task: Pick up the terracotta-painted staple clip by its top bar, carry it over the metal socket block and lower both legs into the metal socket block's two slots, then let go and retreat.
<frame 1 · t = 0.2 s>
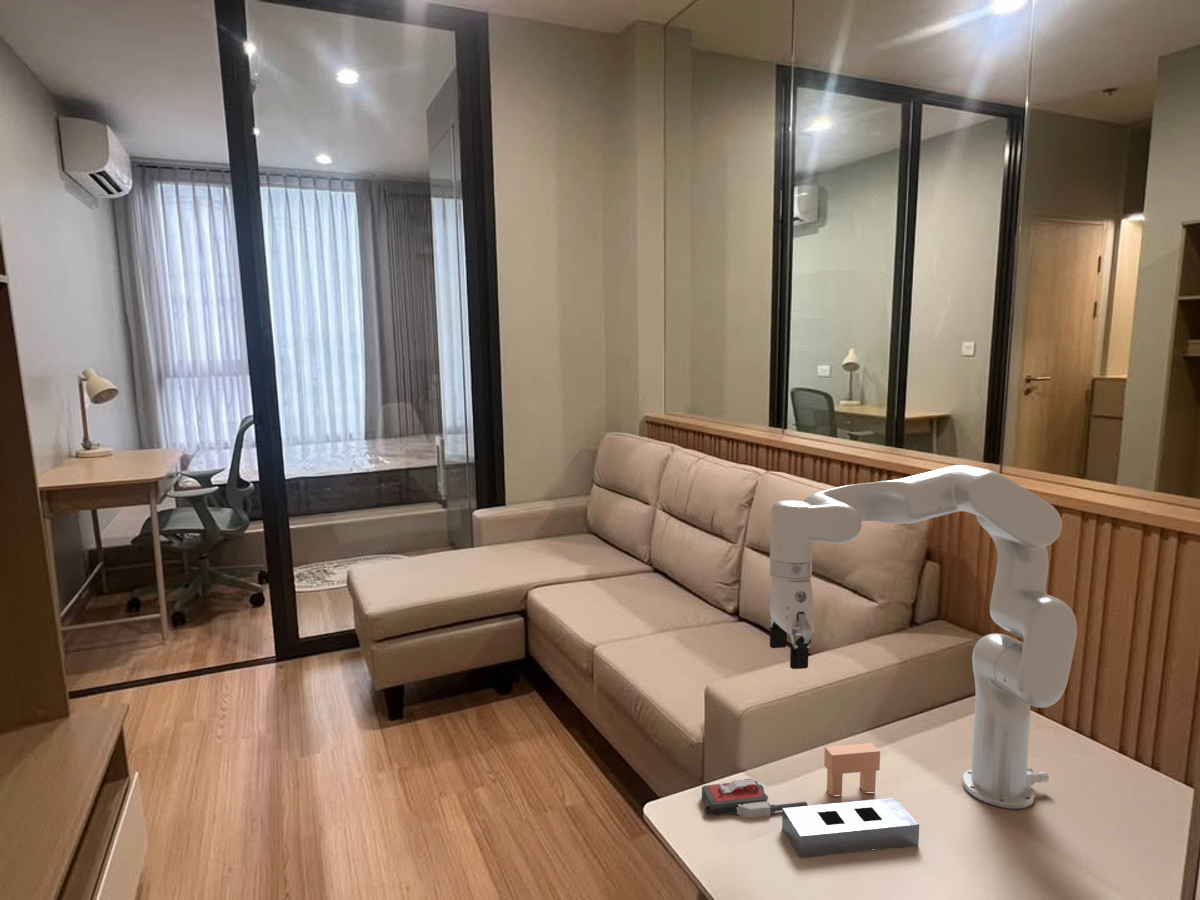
hand: (788, 657, 133), 30 cm above the table, fingers open, 9 cm apart
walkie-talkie: (751, 807, 139), on the table
clip: (850, 791, 143), on the table
metal socket block: (848, 836, 129), on the table
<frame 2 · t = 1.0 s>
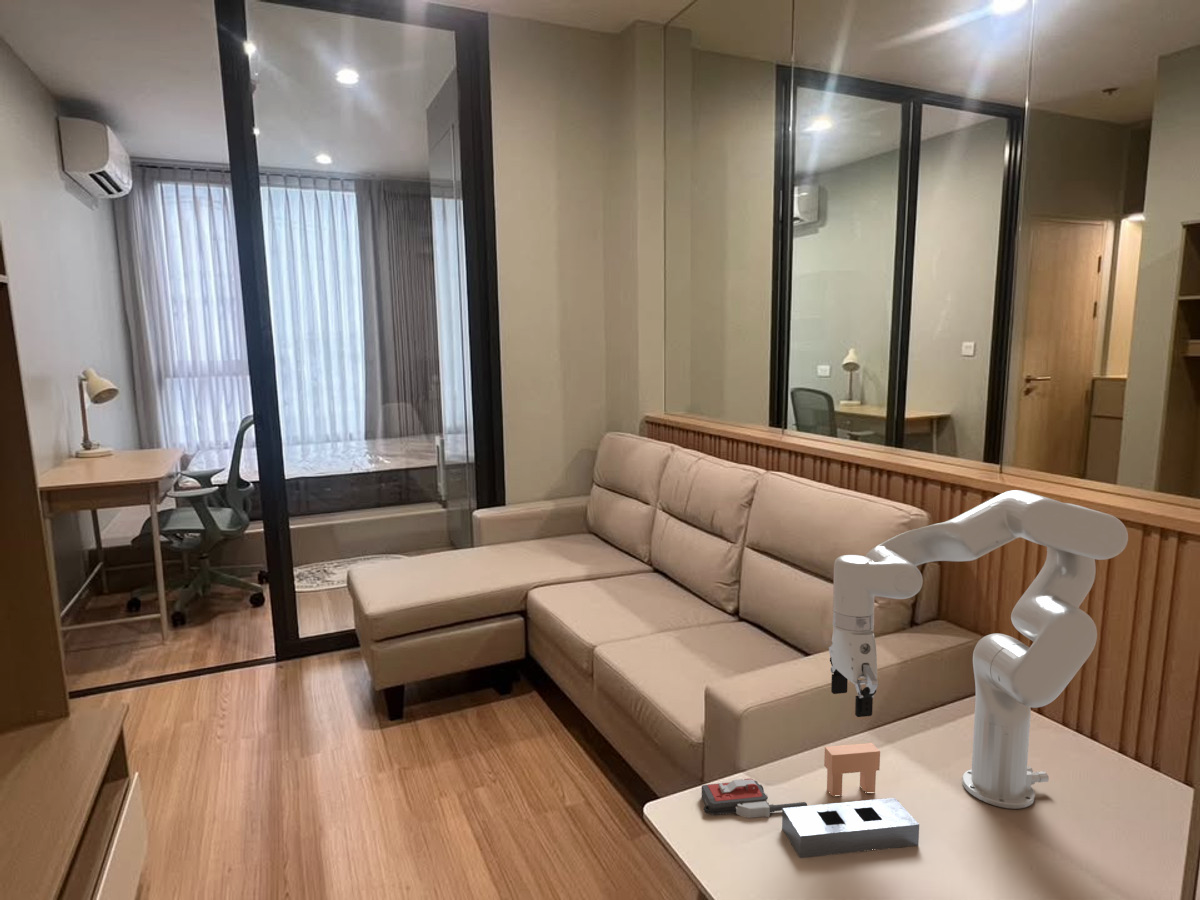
hand: (851, 704, 140), 19 cm above the table, fingers open, 9 cm apart
nothing on the table moved.
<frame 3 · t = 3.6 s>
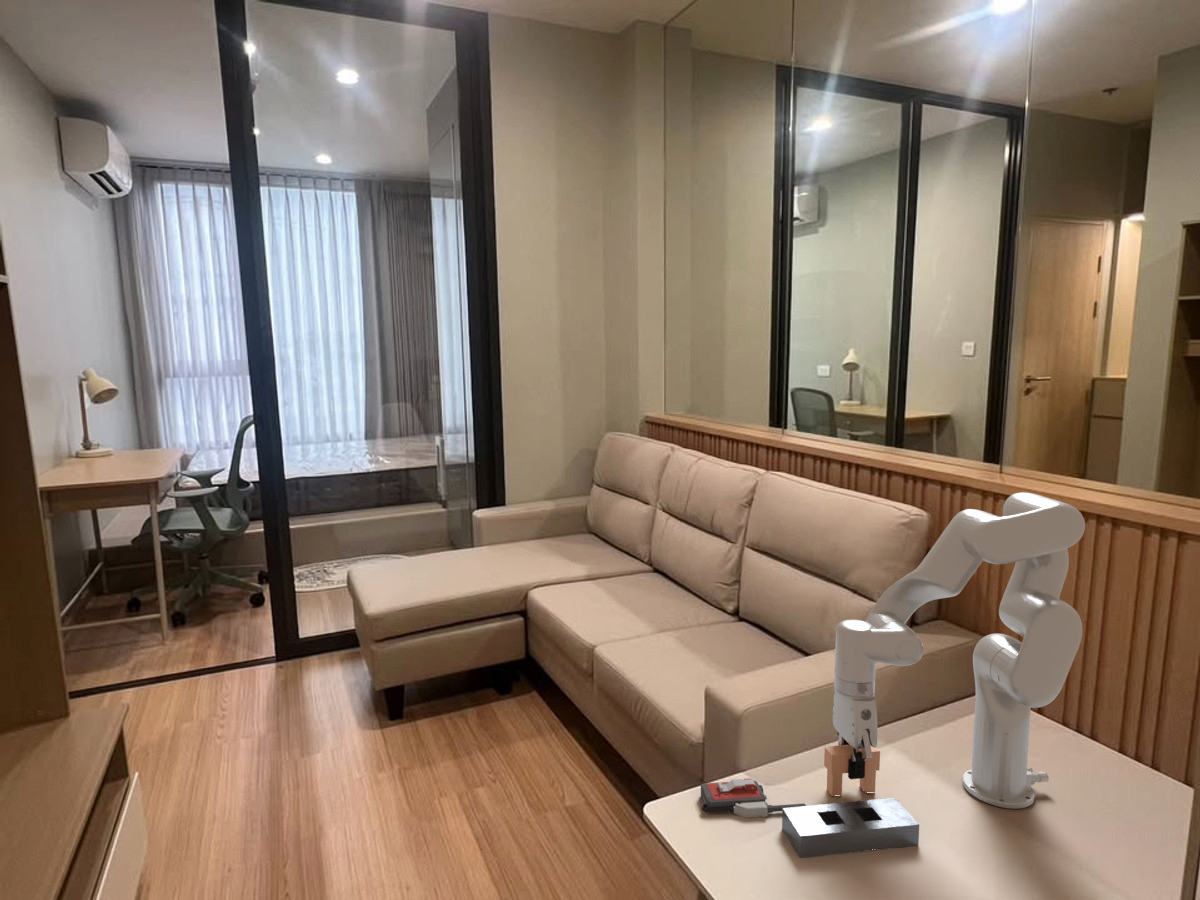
hand: (851, 771, 142), 4 cm above the table, fingers closed on clip, 3 cm apart
clip: (850, 791, 143), on the table, touching gripper
everything else where it was.
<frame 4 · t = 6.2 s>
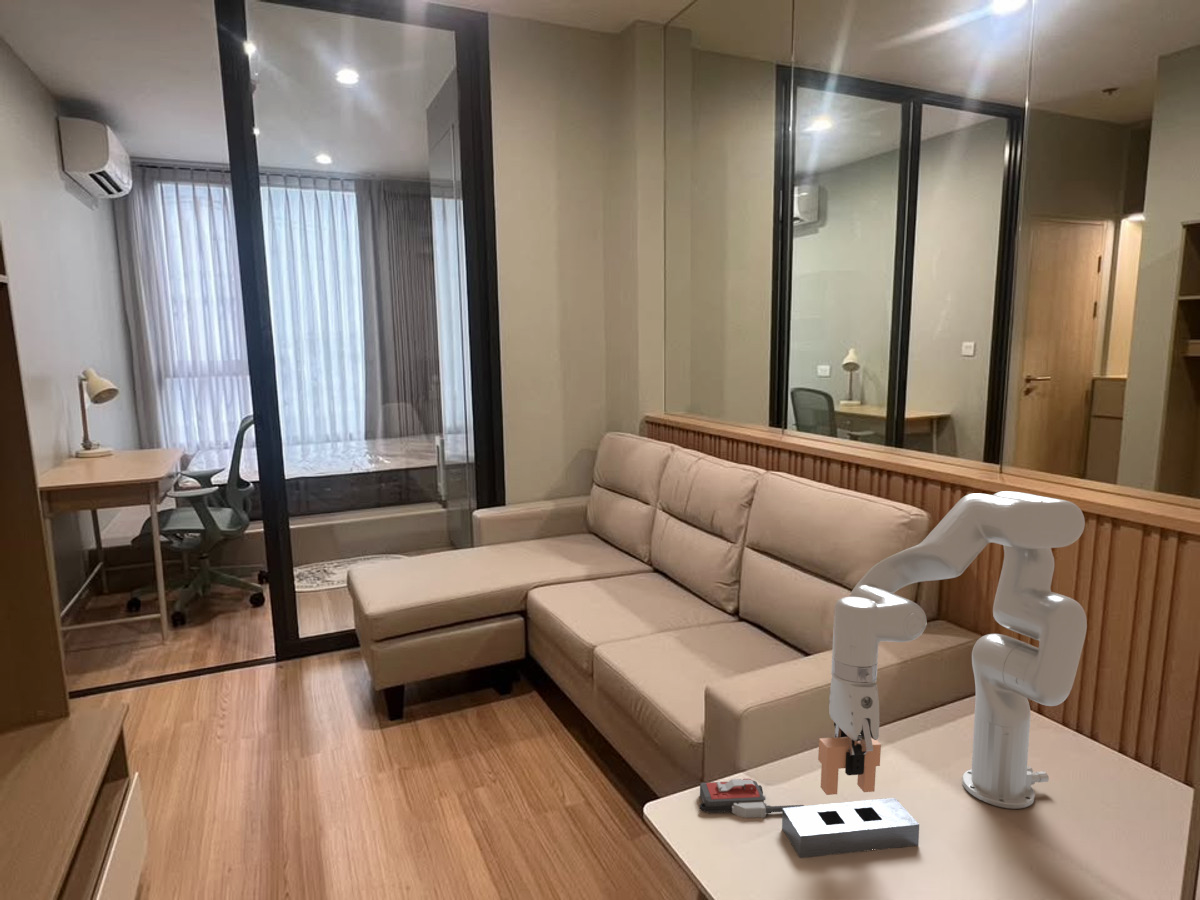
hand: (849, 767, 127), 13 cm above the table, fingers closed on clip, 3 cm apart
clip: (847, 789, 128), point 9 cm above the table, touching gripper
everything else where it was.
when the fingers open (5 cm above the table, at t = 8.7 s): clip stays where it is, resting in metal socket block.
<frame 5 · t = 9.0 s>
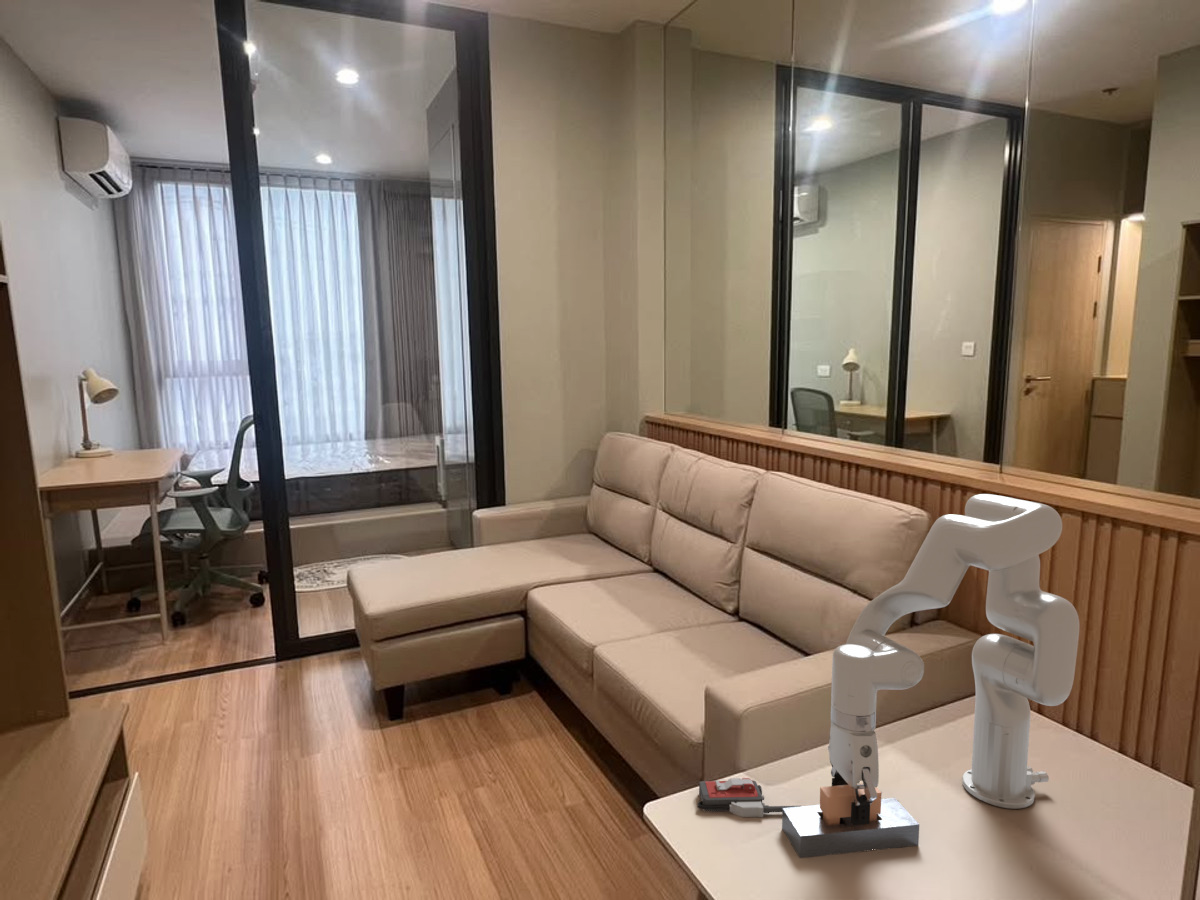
hand: (849, 809, 128), 5 cm above the table, fingers open, 6 cm apart
clip: (849, 836, 129), resting in metal socket block
everything else where it was.
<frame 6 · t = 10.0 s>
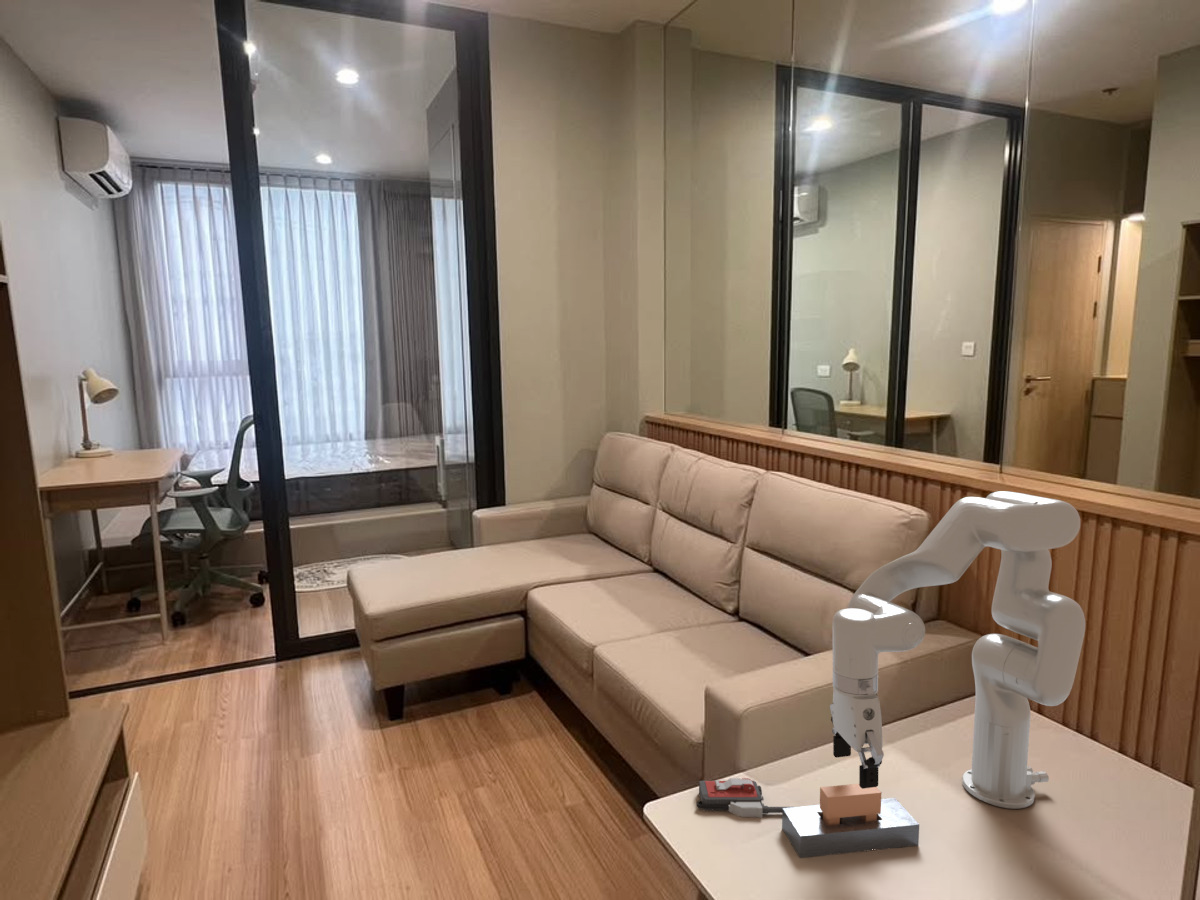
hand: (855, 770, 128), 12 cm above the table, fingers open, 9 cm apart
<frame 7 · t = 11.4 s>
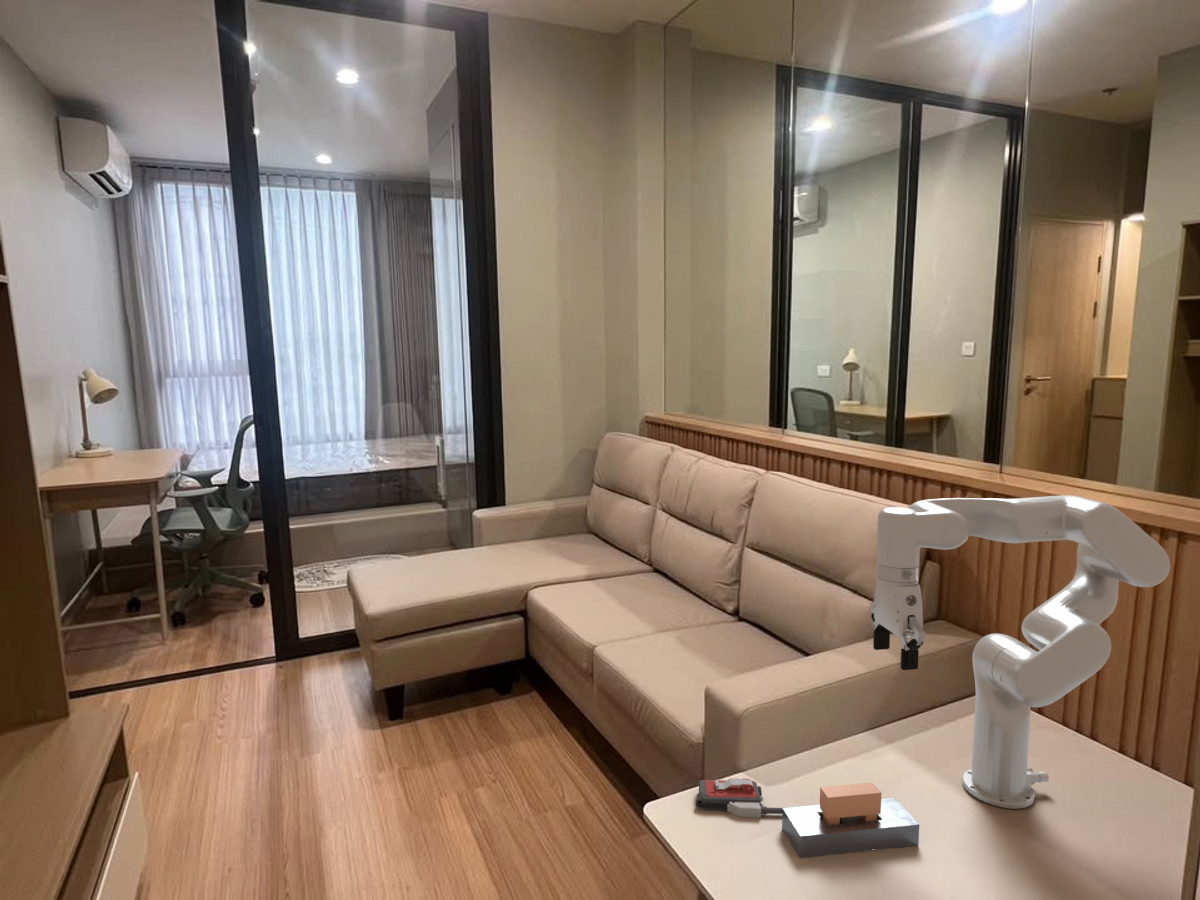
hand: (894, 658, 138), 28 cm above the table, fingers open, 9 cm apart
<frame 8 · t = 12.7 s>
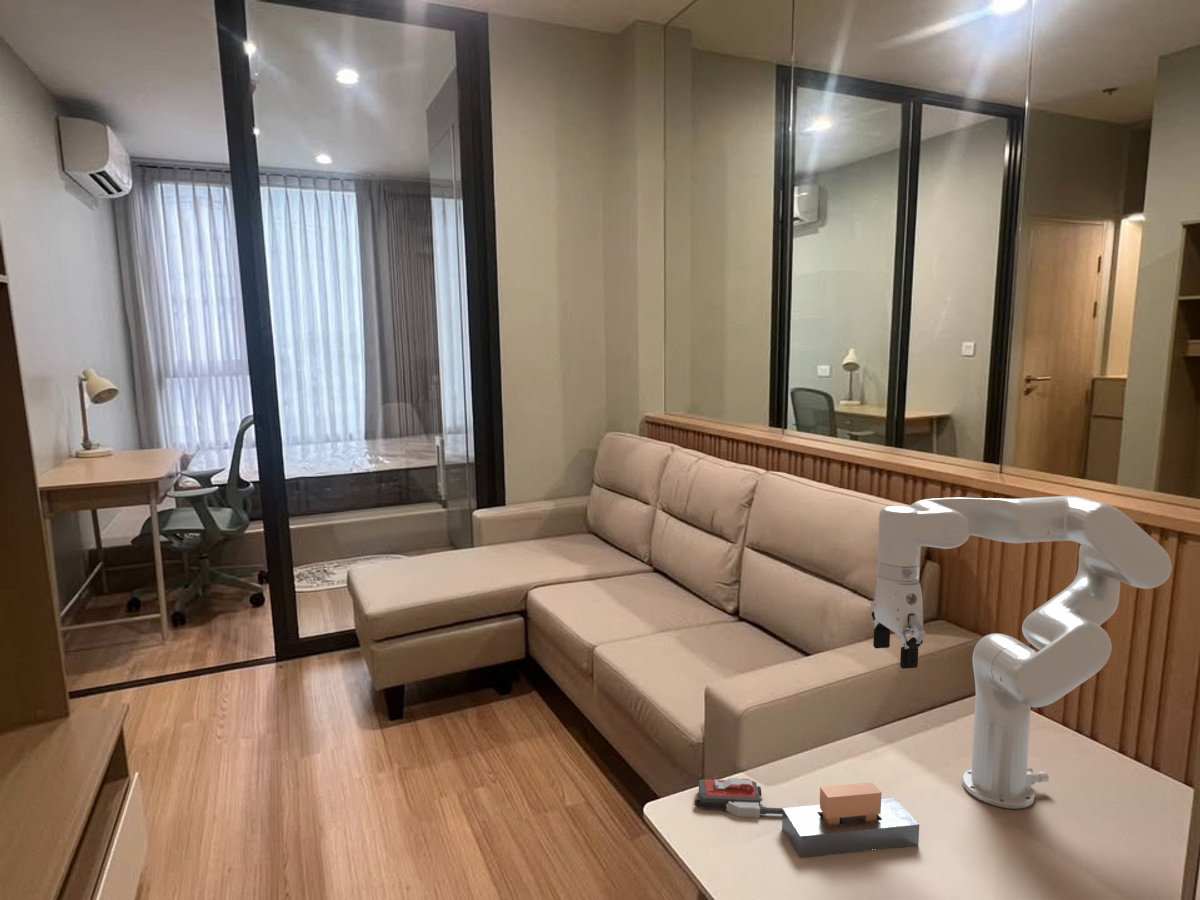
hand: (894, 657, 138), 28 cm above the table, fingers open, 9 cm apart
at the end: clip 0.0 cm off-centre on the metal socket block, point 0.0 cm above the metal socket block's base; clip tilted 0°; the gripper is holding nothing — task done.
